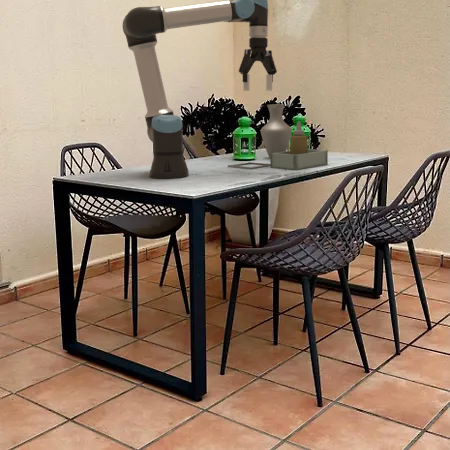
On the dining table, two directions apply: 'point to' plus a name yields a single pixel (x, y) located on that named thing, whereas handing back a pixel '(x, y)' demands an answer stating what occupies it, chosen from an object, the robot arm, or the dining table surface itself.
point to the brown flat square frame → (249, 167)
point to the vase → (276, 131)
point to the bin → (299, 159)
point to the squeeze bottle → (298, 141)
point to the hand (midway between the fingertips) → (258, 90)
